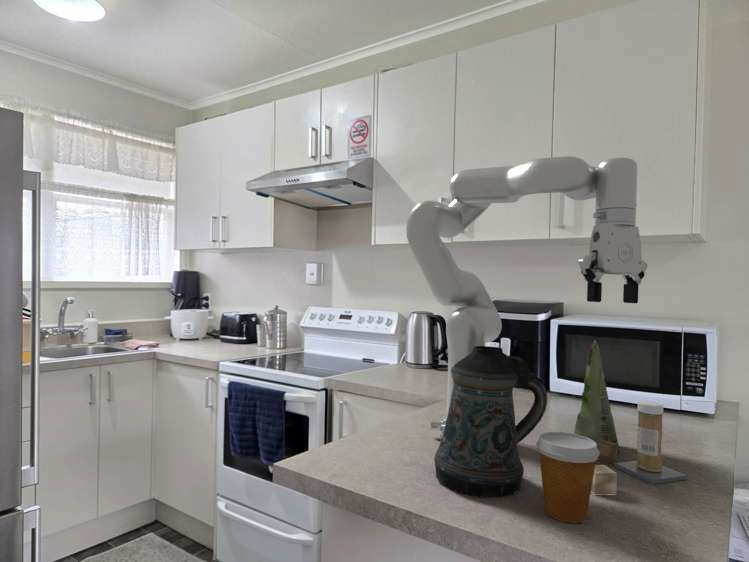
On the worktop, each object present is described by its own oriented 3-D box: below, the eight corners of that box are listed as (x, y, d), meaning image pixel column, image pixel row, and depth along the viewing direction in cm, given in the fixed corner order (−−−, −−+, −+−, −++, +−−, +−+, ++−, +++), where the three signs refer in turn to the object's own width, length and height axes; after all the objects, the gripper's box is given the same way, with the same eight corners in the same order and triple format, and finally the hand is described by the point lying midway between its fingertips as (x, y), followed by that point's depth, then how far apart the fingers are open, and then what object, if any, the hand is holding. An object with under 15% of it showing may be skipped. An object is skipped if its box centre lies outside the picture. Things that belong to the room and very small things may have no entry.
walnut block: (608, 466, 100) (609, 447, 101) (589, 460, 104) (590, 442, 104) (616, 462, 103) (617, 443, 103) (598, 456, 106) (598, 438, 106)
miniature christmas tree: (591, 457, 105) (595, 343, 106) (556, 440, 117) (559, 337, 117) (632, 454, 108) (635, 343, 109) (594, 437, 120) (597, 337, 120)
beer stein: (418, 469, 95) (422, 342, 95) (497, 458, 103) (501, 341, 103) (466, 505, 80) (471, 354, 80) (555, 489, 87) (560, 352, 88)
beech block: (594, 495, 86) (595, 473, 86) (583, 486, 89) (583, 464, 90) (616, 495, 86) (616, 473, 86) (603, 486, 90) (604, 465, 90)
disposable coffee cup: (576, 535, 71) (578, 454, 71) (522, 509, 79) (524, 436, 79) (609, 518, 77) (611, 443, 77) (556, 496, 84) (558, 428, 84)
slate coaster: (652, 484, 91) (652, 480, 91) (614, 467, 100) (614, 463, 100) (686, 479, 94) (686, 475, 94) (647, 463, 103) (647, 459, 103)
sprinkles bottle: (666, 470, 97) (667, 403, 97) (654, 475, 94) (656, 406, 94) (643, 463, 100) (644, 398, 101) (631, 467, 98) (633, 401, 98)
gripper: (596, 213, 93) (593, 302, 93) (662, 221, 99) (659, 304, 98) (568, 218, 100) (565, 300, 100) (631, 225, 106) (629, 302, 105)
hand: (612, 302), depth 99 cm, fingers open, 9 cm apart
